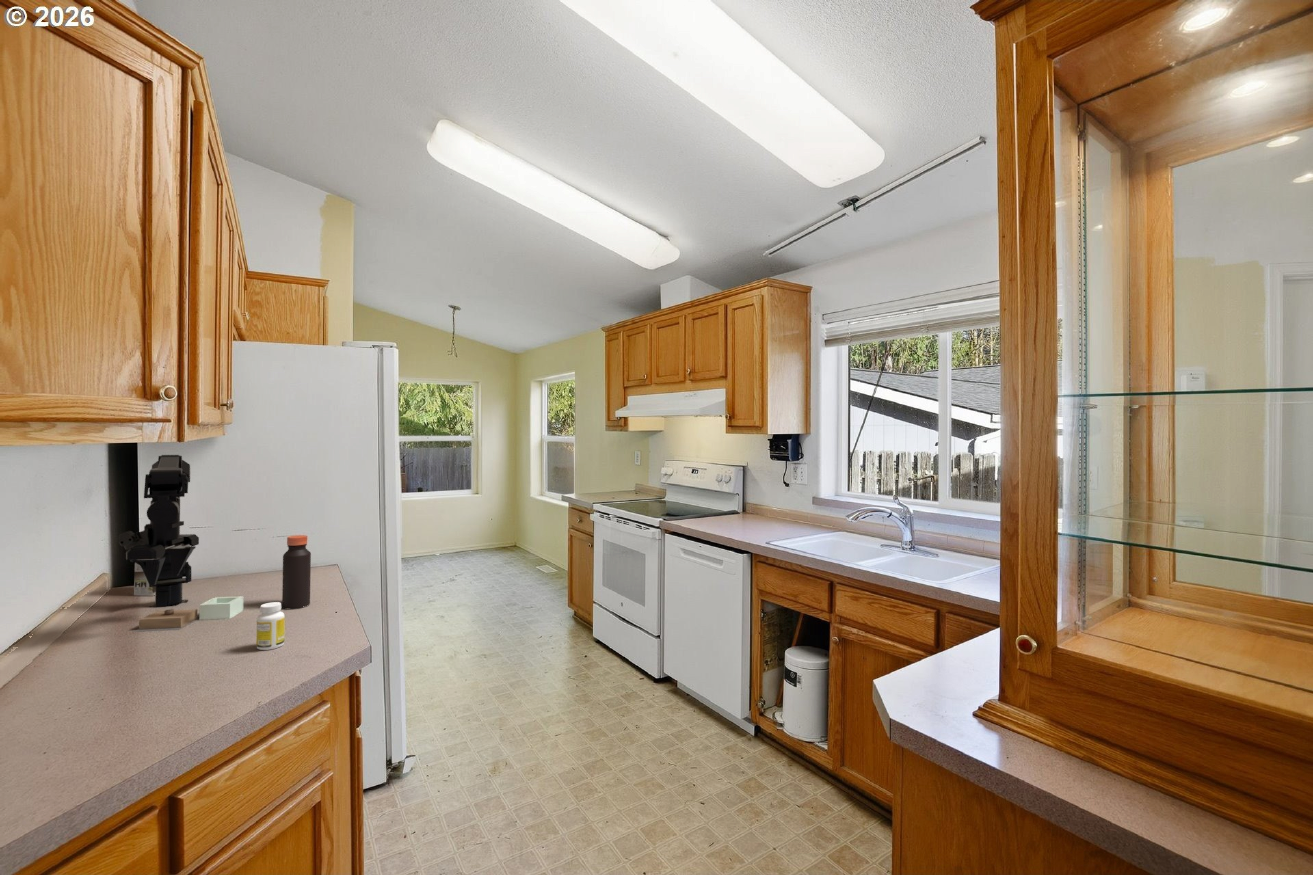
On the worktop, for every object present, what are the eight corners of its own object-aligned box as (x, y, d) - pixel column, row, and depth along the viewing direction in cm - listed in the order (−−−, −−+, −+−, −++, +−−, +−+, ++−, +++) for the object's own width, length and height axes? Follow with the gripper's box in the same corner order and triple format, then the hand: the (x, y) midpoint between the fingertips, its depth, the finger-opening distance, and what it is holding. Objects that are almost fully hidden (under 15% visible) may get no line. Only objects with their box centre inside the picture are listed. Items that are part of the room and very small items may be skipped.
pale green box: (214, 613, 154) (214, 597, 154) (243, 612, 156) (243, 596, 156) (199, 622, 148) (199, 604, 148) (229, 620, 149) (230, 603, 149)
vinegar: (312, 601, 167) (313, 534, 167) (306, 608, 160) (307, 538, 160) (286, 603, 165) (287, 534, 165) (278, 610, 158) (279, 539, 158)
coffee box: (154, 596, 170) (154, 542, 170) (133, 595, 170) (133, 542, 170) (180, 588, 179) (180, 537, 179) (160, 587, 179) (160, 536, 179)
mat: (159, 621, 148) (159, 618, 148) (202, 619, 150) (202, 616, 150) (132, 634, 138) (132, 631, 138) (179, 631, 140) (179, 629, 140)
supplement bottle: (281, 640, 136) (282, 599, 136) (286, 646, 132) (287, 604, 132) (254, 646, 132) (254, 604, 132) (258, 652, 128) (259, 609, 128)
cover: (157, 620, 146) (157, 607, 146) (197, 618, 148) (197, 605, 148) (138, 629, 140) (139, 615, 140) (180, 627, 141) (181, 613, 141)
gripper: (152, 513, 151) (151, 572, 151) (99, 525, 132) (98, 591, 132) (200, 513, 153) (199, 570, 153) (155, 524, 135) (154, 589, 135)
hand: (164, 580), depth 143 cm, fingers open, 9 cm apart
